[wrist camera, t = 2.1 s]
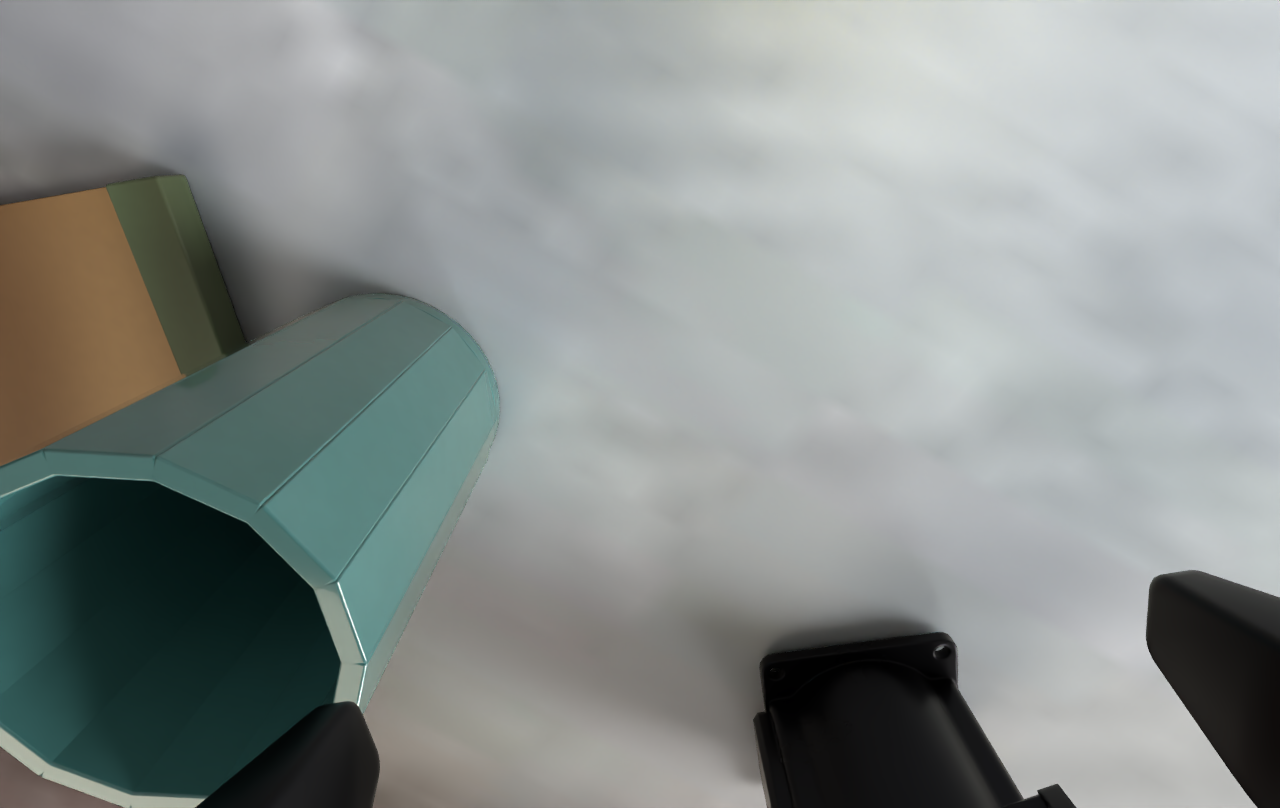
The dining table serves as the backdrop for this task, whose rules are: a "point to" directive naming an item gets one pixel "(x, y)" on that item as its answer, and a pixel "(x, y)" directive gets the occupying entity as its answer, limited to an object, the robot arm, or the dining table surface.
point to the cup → (233, 548)
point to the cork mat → (103, 303)
